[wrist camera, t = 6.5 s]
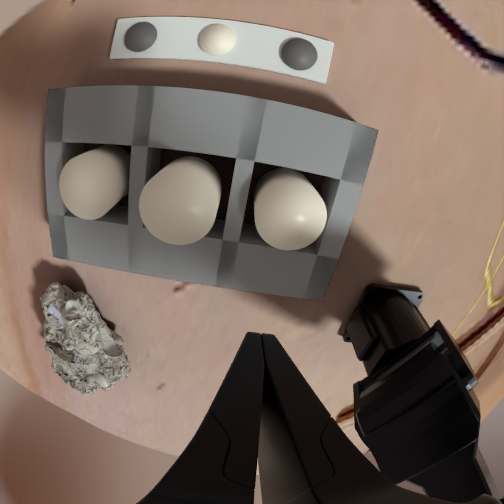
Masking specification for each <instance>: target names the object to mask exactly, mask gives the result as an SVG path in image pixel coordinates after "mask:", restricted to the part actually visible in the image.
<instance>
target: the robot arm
mask: <svg viewBox="0 0 504 504" xmlns="http://www.w3.org/2000/svg"><path fill="white" fill-rule="evenodd" d="M372 289H373V290H372ZM370 290H372V291H370ZM423 298H424V293H423V292H422V291H421V290H415V289H407V288H400V287H392V286H384V285H377V284H370V285H368V286H367V287H366V289H365V291H364V293H363V295H362V297H361V300H360V302H359V304H358V306H357V307H356V308H355V310H354V313H353V315H352V317H351V319H350V321H349V323H348V325H347V327H346V330H345V332H344V334H343V340H344V341H345V342H352V344H353V347H354V350H355V352H356V355H357V358H358V359H359V361H363V364H364V367H365V369H366V372H367V375H368V376H367V377H366V378H364V379H363V380H361V381H358V382H356V383H355V384H353V392H354V421H355V429H356V431H357V432H358V435H359V436H360V438H361V440H362V441H363V442H364V444H365V445H366V446H367V447H368V448H369V449H370V451H371V453H372V454H373V456H374V458H375V459H376V462H377V464H378V467H379V469H380V471H381V472H380V471H379V470H378V469H377V468H376V467H375V466H374V465H373V464H372V463H371V462H370V461H369V460H368V459H367V458H366V457H365V456H364V455H363V454H362V453H361V452H360V451H359V450H358V449H357V448H356V446H355V445H354V444H353V443H352V442H351V441H350V440H349V439H348V437H347V436H346V435H345V433H344V432H343V431H342V430H341V428H340V427H339V426H338V424H337V423H336V422H335V420H334V419H333V418H332V417H331V415H330V413H329V412H328V411H327V409H326V408H325V406H324V405H323V404H322V402H321V401H320V400H319V398H318V397H317V395H316V394H315V392H314V391H313V390H312V388H311V387H310V385H309V384H308V383H307V381H306V380H305V378H304V377H303V375H302V374H301V373H300V371H299V370H298V368H297V367H296V365H295V364H294V363H293V361H292V360H291V358H290V357H289V355H288V354H287V353H286V351H285V350H284V348H283V347H282V345H281V344H280V342H279V341H278V339H277V338H276V337H275V335H273V334H264V333H263V334H261V335H260V333H255V332H247V333H246V335H245V337H244V339H243V341H242V344H241V346H240V348H239V350H238V352H237V354H236V356H235V358H234V360H233V362H232V364H231V366H230V368H229V370H228V372H227V374H226V376H225V378H224V380H223V382H222V384H221V386H220V388H219V390H218V392H217V394H216V396H215V398H214V400H213V402H212V404H211V406H210V408H209V410H208V412H207V414H206V415H205V417H204V419H203V421H202V423H201V425H200V427H199V428H198V430H197V432H196V434H195V435H194V437H193V438H192V440H191V441H190V443H189V444H188V446H187V447H186V448H185V450H184V451H183V452H182V454H181V455H180V456H179V458H178V459H177V460H176V461H175V463H174V464H173V465H172V466H171V468H170V469H169V470H168V472H167V473H166V474H165V475H164V476H163V478H162V479H161V480H160V481H159V483H158V484H157V485H156V486H155V487H154V488H153V489H152V490H151V491H150V492H149V493H148V494H147V495H146V496H145V497H144V498H143V499H141V500H140V501H139V502H138V503H136V504H254V489H255V481H256V470H257V459H258V464H259V474H260V484H261V494H262V504H504V496H503V497H501V498H500V495H499V493H498V490H497V488H496V485H495V483H494V481H493V478H492V476H491V474H490V471H489V469H488V467H487V465H486V462H485V460H484V458H483V456H482V454H481V452H480V450H479V447H478V445H477V444H478V437H479V428H480V418H481V416H480V402H479V400H478V398H477V396H476V394H475V393H474V391H473V389H472V388H473V387H475V386H476V385H477V384H478V383H479V382H478V380H477V378H476V376H475V374H474V372H473V370H472V368H471V366H470V364H469V362H468V360H467V358H466V357H465V355H464V353H463V352H462V350H461V349H460V347H459V346H458V344H457V343H456V341H455V340H454V338H453V337H452V336H451V334H450V333H449V332H448V330H447V329H446V328H445V327H444V325H443V324H442V323H441V321H440V320H438V321H436V322H435V323H434V325H433V326H432V327H431V328H430V327H429V325H428V323H427V322H426V320H425V319H424V317H423V316H422V314H421V313H420V311H419V310H418V307H419V305H420V303H421V301H422V299H423ZM330 417H331V418H330ZM403 481H407V482H410V483H412V484H414V485H416V486H419V487H421V488H422V489H423V491H424V492H425V494H426V495H423V494H419V493H416V492H413V491H410V490H407V489H403V488H401V487H399V486H397V485H396V484H398V483H401V482H403Z"/></svg>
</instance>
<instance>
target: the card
mask: <svg viewBox="0 0 504 504" xmlns="http://www.w3.org/2000/svg"><path fill="white" fill-rule="evenodd" d="M333 47H334V43H333V42H330V41H327V40H323V39H320V38H316V37H313V36H309V35H305V34H301V33H297V32H293V31H288V30H284V29H279V28H274V27H269V26H264V25H258V24H252V23H245V22H238V21H230V20H221V19H210V18H195V17H137V18H123V19H118V22H117V26H116V30H115V34H114V39H113V43H112V48H111V53H110V58H109V59H138V58H147V59H178V60H193V61H204V62H214V63H222V64H230V65H237V66H243V67H249V68H255V69H261V70H266V71H271V72H276V73H281V74H285V75H290V76H294V77H298V78H302V79H306V80H310V81H314V82H318V83H321V84H326V81H327V76H328V71H329V67H330V62H331V57H332V52H333Z"/></svg>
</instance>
